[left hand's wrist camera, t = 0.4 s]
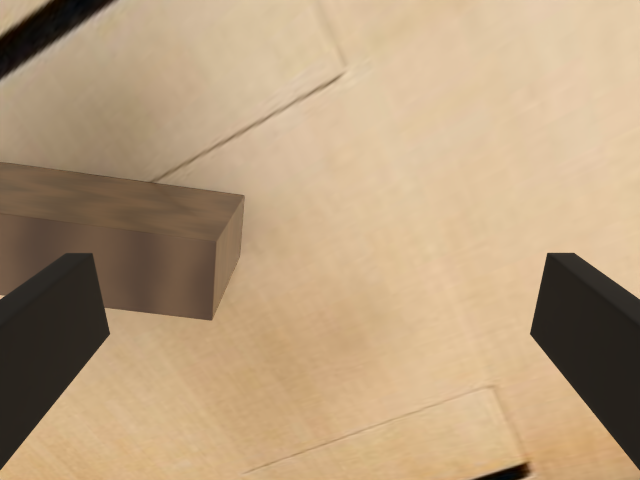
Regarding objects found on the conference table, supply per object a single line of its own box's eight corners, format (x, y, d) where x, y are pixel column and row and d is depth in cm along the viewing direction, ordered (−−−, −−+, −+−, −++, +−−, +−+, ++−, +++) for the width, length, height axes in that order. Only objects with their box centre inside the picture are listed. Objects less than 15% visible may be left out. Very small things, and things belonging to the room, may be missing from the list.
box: (-16, 223, 40) (-137, 278, 30) (-27, 158, 38) (-162, 192, 27) (239, 256, 41) (212, 321, 31) (244, 195, 39) (216, 241, 28)
